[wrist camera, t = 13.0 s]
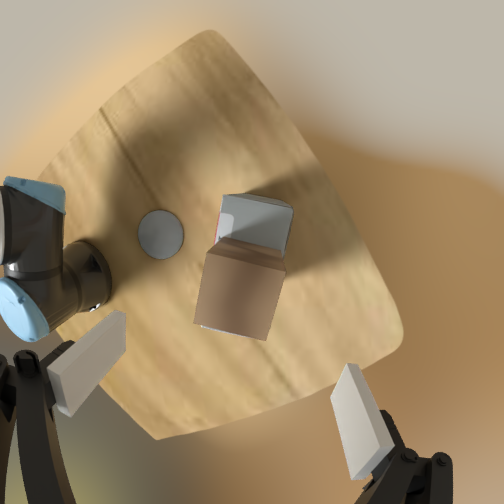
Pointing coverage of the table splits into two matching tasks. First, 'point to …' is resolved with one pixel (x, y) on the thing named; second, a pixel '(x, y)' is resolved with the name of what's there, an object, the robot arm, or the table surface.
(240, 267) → the walnut block
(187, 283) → the table surface
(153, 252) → the slate coaster
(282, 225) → the hard drive box
